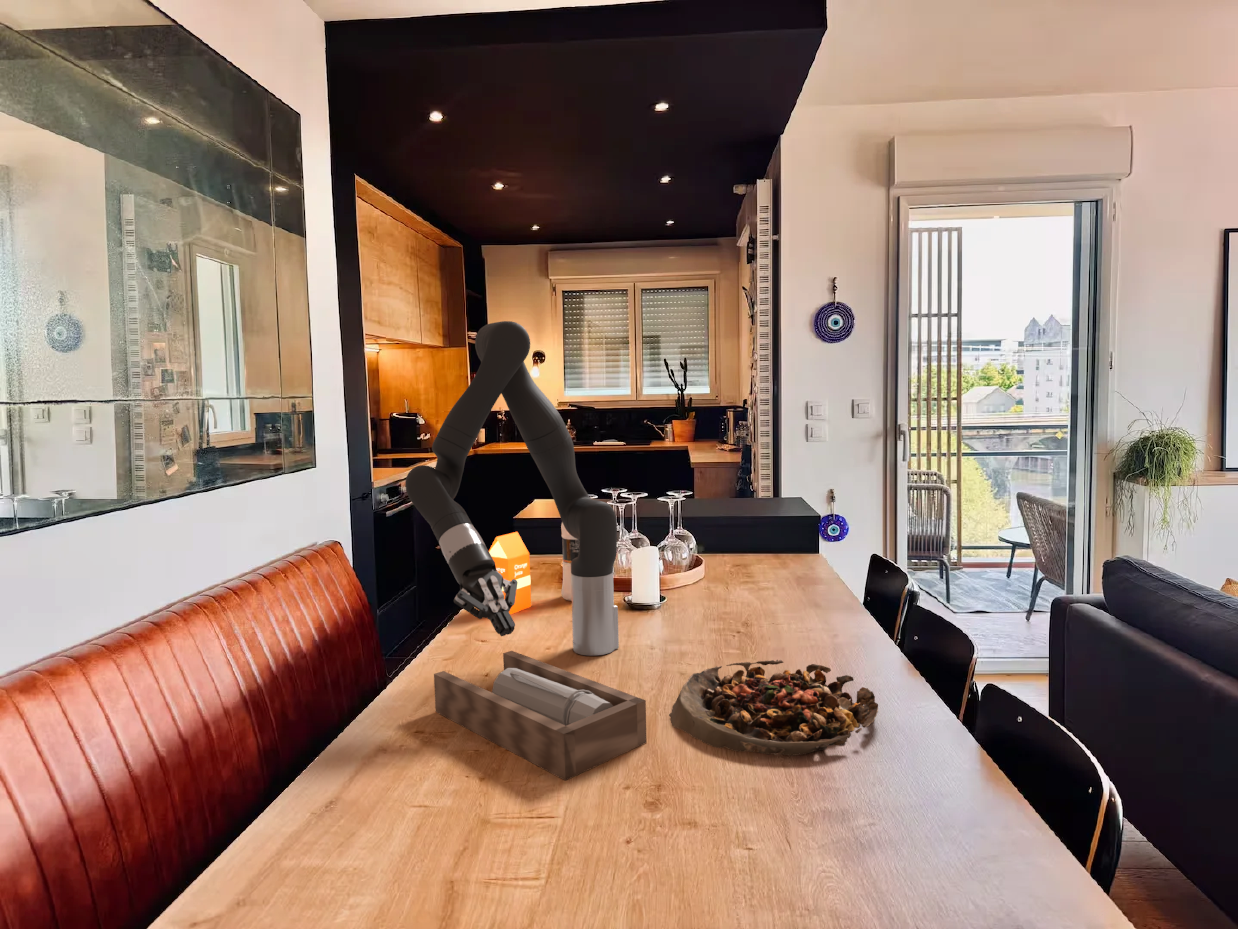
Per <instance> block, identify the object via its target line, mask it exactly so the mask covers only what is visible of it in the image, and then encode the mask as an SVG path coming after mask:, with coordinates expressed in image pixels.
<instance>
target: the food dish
mask: <svg viewBox="0 0 1238 929" xmlns="http://www.w3.org/2000/svg"><path fill="white" fill-rule="evenodd" d="M783 663H784V660H782V659H779V660H778V659H776V660H774V659H773V660H759V661H756V662H751V661H744V662H735V663H730V664H726V667H731V666H741V667H743V668H744V670H745V671H746V675H744V674H745V671H744V670H743V669H738V670H737V671H735V672H734V673H733V675H728V674H727V675H724V676H723V678H722V679H721V678H720V675H719V670H720V669H721V668H723V665H719V666H717V665H716V666H714V667H711V668H710V667H709V668H705V669H704V670H702V671H701V672H697V673H696V672H694V673H692V674H691V675H690V676H689V678H688V680H687V681H686V682H685V683H684V684H683V686H682V688H681V690H680V692H679V694H678V696H677V698H676V700H675V702H674V703H673V705H672V708H671V712H670V713H669V715H668V716H669V717H670V723H671V726H672V728H673V727H674V728H677V729H678V730H681V731H683V732H685V733H687V734H688V735H690V736H691V737H692V738H694V739H697V740H699V741H701V742H702V743H704V744H706V745H709V746H711V747H713V748H718V749H719V748H726V749H728V750H731V751H734V752H750V753H752V752H755V753H759V754H765V755H771V754H773V755H777V754H778V755H786V756H797V755H806V754H811V753H813V752H816V751H817V752H818V751H823V750H826V749H827V748H828V747H827V746H836V747H837V746H843V745H845V744H846V743H847V742H848V741H847V740H848V739H850V738H851V737H853V736H854V735H853V734H852V733H853V732H855V733H856V734H858V733H860V732H861V731H862V730H863V728H864V729H865V728H868V727H869V726H870V725H871V724H872V723H873V722H875V720H876V718H877V714H878V713H879V704H878V703H877V702H876V696H875V694H874V692H873V691H872V690H870V689H869V687H864V686H862V687H861V688H859V689H858V690H857V691H856V700H855V701H856V702H853V697H852V696H851V694H850V693H849V692H846V691H845V692H843V687H844V685H845V684H847V683H849V682H854V680H855V679H854V676H851V675H848V674H847V675H842V676H837V677H836V678H835V679H836V681H832V682H830V683H828V684H827V677H826V674H828V673H830V672H831V671H832V669H831V668H830V667H828V666H826V665H820V664H816V663H812V664H808V665H807V666H806V667H805V668H806V669H805V670H803V671H802V670H801V669H800V668H798V669H796V670H795V671H794V672H792V673H791V671H790V670H789V669H785V670H784V671H783V672H775V673H774V674H772V675H771V676H770V678H767V676H765V675H766V674H765V673H766V670H765V669H764V668H763V667H762V666H768V665H771V666H772V665H779V664H783ZM755 664H757V665H758V664H759V665H762V666H753V667H751V666H752V665H755ZM750 667H751V668H750ZM823 672H824V673H826V674H824V673H823ZM811 673H813V674H814V678H813V677H812V676H811V675H810V674H811ZM860 727H861V728H860ZM856 728H857V729H856ZM855 729H856V730H855Z"/></svg>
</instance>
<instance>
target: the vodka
mask: <svg viewBox="0 0 1238 929" xmlns="http://www.w3.org/2000/svg"><path fill="white" fill-rule="evenodd" d="M560 525H561V526H560V527H561V528H560V529H561V534H560V535H561V538H562V540H561V542H562V562H561V564H562V587H561V597H562V599H564V600H565V601H569V602H572V591H571V561H572V560H573V559H574V558H576V557H578V555H579V546H580V540H579V539H576V538H574V537H573V536H571V535H570V534H569V533H568V532H567V530H566V529H565V527H564V525H563V522H562V521H561V524H560Z"/></svg>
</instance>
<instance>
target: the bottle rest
mask: <svg viewBox="0 0 1238 929" xmlns="http://www.w3.org/2000/svg"><path fill="white" fill-rule="evenodd" d="M502 654H503V655H502V658H503V671H504V670H506V669H507V668H517V669H520V670H523V671H525V672H528V673H531V674H534V675H537V676H539V677H542V678H545V679H548V680H551V681H554V682H556V683H559V684H562V685H565V686H568V687H570V688H573V689H576V690H588V691H590V692H592V693H593V694H595V695H596V696H598V697H600V698H602V699H604V700H605V701H607V702H609V703H611V704H612V705H613V707H611V708H608V709H606V710H603V711H601V712H599V713H596V714H594V715H591V716H589V717H586V718H584V719H581V720H579V721H576V722H574V723H571V724H569V725H566V726H565V725H563V724H561V723H558V722H556V721H554V720H552V719H549V718H547V717H545V716H543V715H541V714H538V713H536V712H534V711H532V710H529V709H527V708H525V707H523V706H521V705H518V704H516V703H514V702H512V701H509V700H507V699H505V698H503V697H501V696H498V695H496V694H494V693H492V691H489V690H487V689H485V688H483V687H480V686H479V685H476V684H474V683H471V682H469V681H467V680H465V679H463V678H460V677H458V676H455V675H454V674H452V673H449V672H446V670H442V671H438V672H435V673H433V685H434V686H433V687H434V704H435V713H437V714H439V715H441V716H443V717H444V718H446V719H447V720H450V721H452V722H453V723H456V724H457V725H459V726H462V727H463V728H465V729H467V730H469V731H471V732H473V733H475V734H477V735H478V736H481V737H482V738H484V739H487V740H488V741H489V742H492V743H494V744H495V745H498V746H499V747H501V748H503V749H505V750H507V751H508V752H511V753H513V754H514V755H517V756H518V757H520V758H522V759H524V760H526V761H527V762H530V763H532V764H533V765H535V766H537V767H539V768H541V769H543V770H545V771H547V772H548V773H550V774H552V775H555V776H556V777H558V778H559V779H562V780H564V781H567V780H569V779H572V778H574V777H576V776H578V775H580V774H582V773H585V772H586V771H589V770H591V769H593V768H595V767H597V766H599V765H601V764H604V763H606V762H608V761H610V760H613V759H615V758H617V757H618V756H621V755H623V754H625V753H627V752H629V751H632V750H634V749H636V748H638V747H640V746H642V745H644V744H647V709H646V708H647V705H646V704H647V700H646V699H644V698H641V697H638V696H636V695H632V694H631V693H626V692H624V691H621V690H619V689H616V688H614V687H611V686H609V685H605V684H603V683H601V682H597V681H595V680H592V679H589V678H587V677H584V676H581V675H578V674H575V673H573V672H572V671H568V670H565V669H563V668H560V667H557V666H554V665H552V664H549V663H546V662H544V661H541V660H538V659H536V658H534V657H530V656H527V655H525V654H522V653H520V652H516V651H514V650H508V651H506V652H503V653H502ZM584 693H587V692H584ZM587 694H590V693H587Z"/></svg>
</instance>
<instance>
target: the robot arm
mask: <svg viewBox="0 0 1238 929" xmlns="http://www.w3.org/2000/svg"><path fill="white" fill-rule="evenodd" d="M474 340H475V341H474V347H475V352H476V355H477V357H478V359H479V361H480V365H479V367H478V369H477V371H476V373H475V375H474V377H473V378H472V380H471V382H470V384H469V385H468V387H467V388H466V389H465V391H464V392H463V393H462V394H461V396H460V397H459V398H458V399H457V401H456V402H455V403H454V405H453V406H452V407H451V409H450V411H449V412H448V414H447V415H446V418H445V419H444V420H443V423H442V425H441V426H440V429H439V430H438V432H437V434H436V436H435V438H434V440H433V442H432V446H431V450H432V452H433V454H434V455H435V456H436V463H435V467H432V466H430V465H426V464H425V465H424V464H422V465H417V466H415V467H413V468H411V470H409V472H408V474H407V475H406V478H405V484H404V485H405V491H406V494H407V496H408V498H409V500H410V502H411V503H412V504H413V506H414V507H415V508H416V510H417V511H418V512H419V513H420V515H421V516H422V517H423V519H424V520H425V521H426V522H427V523H428V524H429V526H430V528H431V530H432V532H433V535H434V537H435V538H436V540H437V542H438V544H439V548H440V550H441V553H442V555H443V556H444V559H445V561H446V563H447V564H448V566H449V568H450V570H451V572H452V574H453V576H454V578H455V580H456V582H457V583H458V584H459V591H458V593H456V595H455V597H454V599H453V603H454V604H455V605H456V606H458V607H460V608H462V609H463V610H464V611H466V612H467V613H469V614H471V615H472V616H474V618H477V619H478V620H482V619H487V620H489V621H490V622H491V625H492V626H493V628H494V629H493V630H495V632H496V633H497V634H498V635H500V636H501V637H505V636H506V635H511V634H512V633H513V632H514V630H515V626H516V624H515V621H514V619H513V617H512V614H510V613H509V611H510V609H511V608H512V606H513V605H514V604H515V598H516V590H517V583H518V582H517V580H515V579H512V580H511V581H508V580H506V579H503V576H502V575H501V574H500V573H499V572H498V571H497V570H496V565H495V562H494V560H493V558H492V556H491V555H490V553H489V549H488V548H487V546H486V544H485V542H484V540H483V538H482V536H481V535H480V532H478V530H477V529H476V528H475V527H474V524H473V523H472V521H471V519H470V518H469V516H468V514H467V512H466V511H465V509H464V508H463V506H461V504H459V503H458V502H456V501H455V500H454V499H455V498H456V496H457V494H458V492H459V489H460V486H461V482H462V477H463V473H464V470H465V469H464V468H465V463H466V459H467V457H468V455H469V454H470V452H471V450H472V447H473V445H474V443H475V441H476V440H477V438H478V435H479V433H480V432H481V430H482V428H483V425H484V424H485V422H486V419H487V418H488V416H489V415H490V412H491V411H492V409H493V407H494V406H495V404H496V402H497V400H498V399H499V398H500V396H501V395H502V397H503V400H504V401H505V403H506V406H507V408H508V410H509V413H510V415H511V417H512V419H513V422H514V423H515V426H517V429H518V431H519V433H520V435H521V437H522V440H523V442H524V444H525V446H526V448H527V450H528V452H529V453H530V456H531V458H532V459H533V461H534V463H535V465H536V466H537V469H538V471H539V472H540V474H541V477H542V478H543V480H544V481H545V484H546V485H547V487H548V489H549V491H550V494H551V496H552V498H553V501H554V503H555V506H556V509H557V512H558V514H559V516H560V520H561V523H562V522H563V525H564V527H565V529H566V530H567V532H568V533H569V534H570V535H571V536H573V537H574V538H576V539H579V540H580V546H579V555H578V557H576V558H574V559H573V560H572V561H571V591H572V601H571V619H572V621H571V624H572V650H573V652H574V653H575V654H578V655H581V656H591V657H593V656H603V655H606V654H610V653H612V652H614V651H615V650H617V649H619V641H620V640H619V608H618V605H616V604H615V601H614V600H615V598H614V597H615V596H614V594H615V593H614V592H615V591H614V590H615V588H614V587H615V586H614V564H615V561H616V557H617V550H618V549H617V546H618V544H617V543H618V520H617V515H616V512H615V510H614V508H613V507H612V506H611V505H610V504H609V503H608V502H606V501H601V500H597V499H592V498H591V497H590V495H589V493H588V492H587V490H586V489H585V488H584V485H583V483H582V482H581V479H580V478H579V475H578V473H577V472H578V471H577V467H576V455H575V454H576V453H575V445H574V442H573V439H572V437H571V434H570V432H569V430H568V428H567V425H566V423H565V422H564V419H563V418H562V416H561V414H560V413H559V411H558V410H557V408H556V407H555V405H554V404H553V402H552V401H550V399H549V398H548V397H547V395H545V393H544V392H543V390H541V389H540V387H539V386H538V385H537V384H536V383H535V381H534V380H533V377H531V375H530V372H529V370H528V368H527V365H526V364H525V360H526V359H527V357H528V355H529V353H530V349H531V339H530V335H529V333H528V331H527V329H526V328H525V327H524V326H523V325H521V324H520V323H518V322H516V321H513V320H512V321H510V320H502V321H496V322H492V323H487V324H485V325H484V326H482V327H481V328H479V330H478V331H477V334H476V337H475V339H474ZM502 587H503V590H504V593H506V594H505V600H504V594H503V592H502Z"/></svg>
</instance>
